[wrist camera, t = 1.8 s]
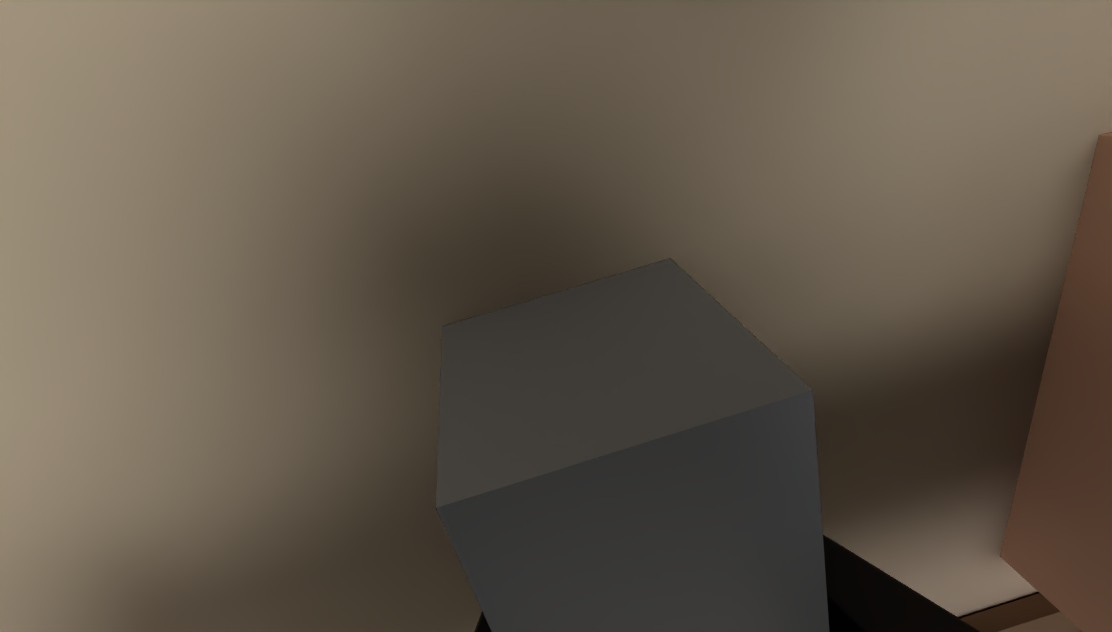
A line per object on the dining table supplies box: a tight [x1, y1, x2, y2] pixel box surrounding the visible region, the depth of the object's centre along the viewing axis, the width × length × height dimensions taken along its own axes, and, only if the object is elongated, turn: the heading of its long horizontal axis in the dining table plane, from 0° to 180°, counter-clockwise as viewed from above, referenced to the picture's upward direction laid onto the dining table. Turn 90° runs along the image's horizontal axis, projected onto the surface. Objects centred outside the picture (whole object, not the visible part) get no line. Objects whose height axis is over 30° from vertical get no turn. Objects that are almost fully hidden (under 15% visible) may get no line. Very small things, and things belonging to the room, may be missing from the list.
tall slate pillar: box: [436, 259, 829, 632], centre depth 9 cm, size 9×4×4 cm, turn 14°
